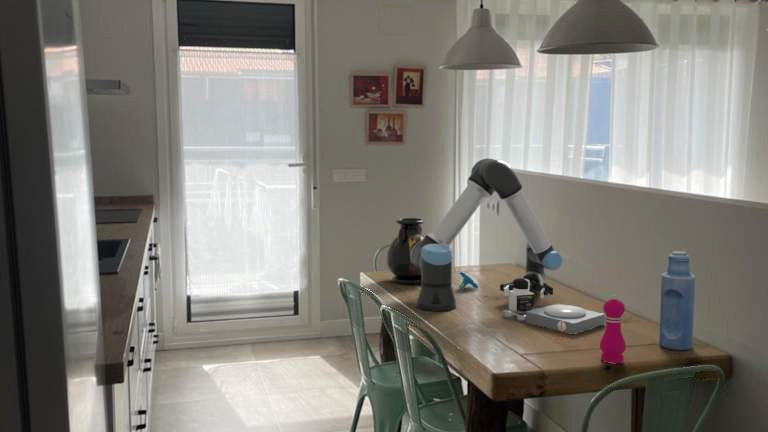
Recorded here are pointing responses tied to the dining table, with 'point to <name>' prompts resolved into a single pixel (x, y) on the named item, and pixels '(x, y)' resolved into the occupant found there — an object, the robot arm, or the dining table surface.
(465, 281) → the gear
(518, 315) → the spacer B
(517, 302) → the medicine bottle
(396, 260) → the amphora vase
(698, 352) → the dining table surface
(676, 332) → the bottle
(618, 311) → the pepper mill
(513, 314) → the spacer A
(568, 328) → the scale
